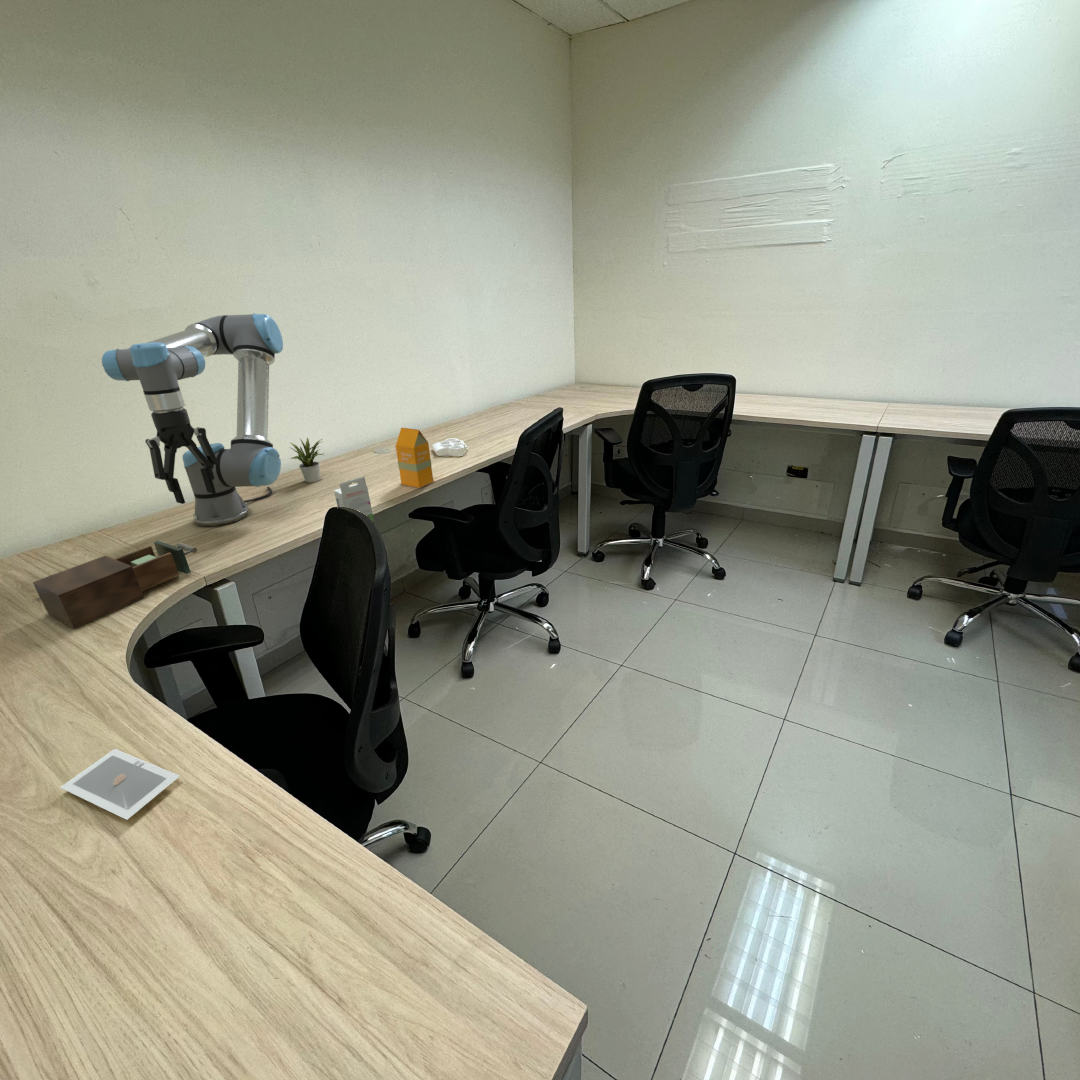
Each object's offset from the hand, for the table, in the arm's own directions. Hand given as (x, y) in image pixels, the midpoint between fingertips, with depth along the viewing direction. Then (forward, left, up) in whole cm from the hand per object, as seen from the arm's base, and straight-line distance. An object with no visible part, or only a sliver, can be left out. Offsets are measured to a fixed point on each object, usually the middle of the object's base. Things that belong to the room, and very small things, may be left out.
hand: (196, 497), depth 144 cm
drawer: (+14, 0, -16) cm, 22 cm away
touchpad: (+53, +63, -17) cm, 84 cm away
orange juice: (-70, +11, -17) cm, 73 cm away
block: (+17, 0, -15) cm, 22 cm away
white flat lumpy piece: (-108, -3, -17) cm, 109 cm away
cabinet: (+29, 0, -17) cm, 34 cm away
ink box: (-33, +20, -17) cm, 42 cm away
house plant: (-56, -27, -17) cm, 65 cm away
